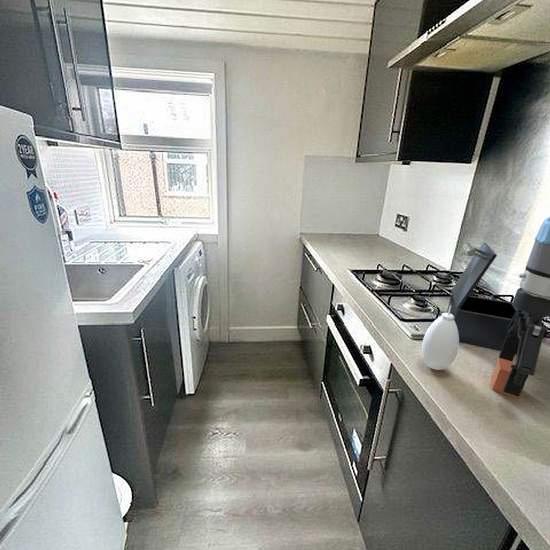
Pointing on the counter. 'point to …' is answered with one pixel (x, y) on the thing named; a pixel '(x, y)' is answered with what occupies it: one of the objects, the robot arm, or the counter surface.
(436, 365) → the white air blower bulb
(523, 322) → the robot arm
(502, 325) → the dark grey box
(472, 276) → the box lid
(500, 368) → the terracotta toy cube
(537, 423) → the counter surface
